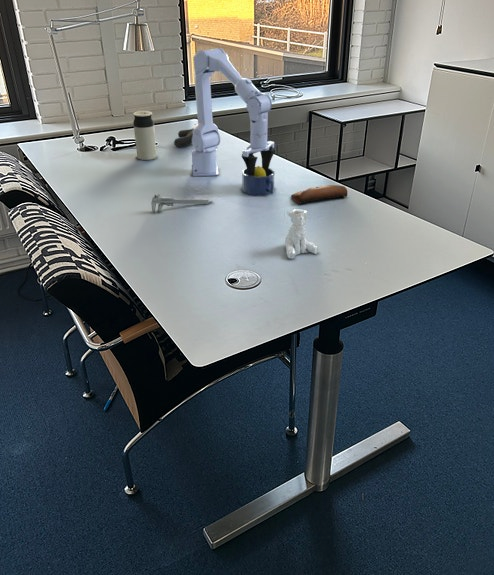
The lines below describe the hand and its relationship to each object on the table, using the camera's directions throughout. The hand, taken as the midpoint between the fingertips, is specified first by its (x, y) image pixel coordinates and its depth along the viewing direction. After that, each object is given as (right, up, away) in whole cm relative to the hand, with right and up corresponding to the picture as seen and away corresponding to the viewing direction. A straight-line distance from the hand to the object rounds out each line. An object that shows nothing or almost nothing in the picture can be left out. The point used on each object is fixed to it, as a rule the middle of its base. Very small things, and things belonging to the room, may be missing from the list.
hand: (258, 172), depth 183 cm
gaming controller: (-31, +24, +52) cm, 65 cm away
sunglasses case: (+21, -10, -3) cm, 23 cm away
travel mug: (-45, +13, +34) cm, 58 cm away
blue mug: (+1, -6, +2) cm, 7 cm away
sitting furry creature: (+10, -30, -36) cm, 48 cm away
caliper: (-25, -14, -11) cm, 31 cm away
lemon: (0, -5, +3) cm, 6 cm away
